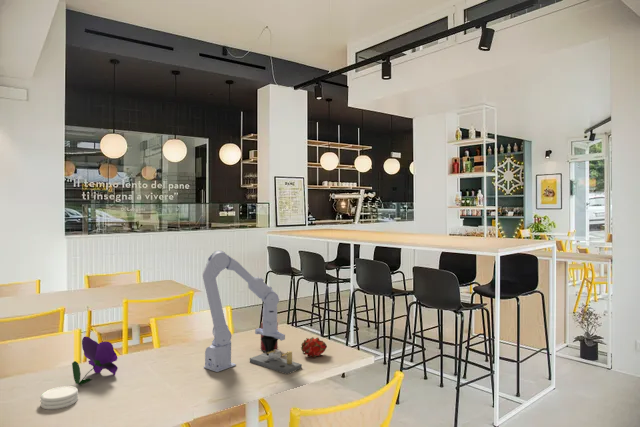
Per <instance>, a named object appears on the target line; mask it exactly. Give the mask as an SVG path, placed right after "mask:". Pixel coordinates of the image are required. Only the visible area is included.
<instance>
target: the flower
mask: <svg viewBox="0 0 640 427" xmlns="http://www.w3.org/2000/svg"><path fill="white" fill-rule="evenodd" d="M81 348H82V350H83V355H84V357H86V358H87V359H88V365H90V366H91V367H92V369H90V370H89V371H87V372H86V374H85V375H84V377H82V379H81V376H82V375H81V374H82V373H81V367H80V365H79V363H78V362H77V361H73V362H71V366H72V375H73V380H74V382H75V384H77V385H79V386H82V385H84V384H86V383H87V384H88V383H89V382H90V381H91V380H93V379H92V378H86V377H87V375H88V374H89V373H91V371H93V372H94V373H95V374H98V373H101V372H102V371H103V370H108V372H110V373H111V374H113V375H114V376H115V375H116V373H117V371H118V369H119V367H118V366H117V365H116V364H115V363H114V362H117V361H118V355H117V353H116V352H115V350H114V346H113V344H112V342H110V341H101V342H99V343H98V342H97V341H96V340H93V339H92V338H90V337H89V336H84V337H82V339H81Z"/></svg>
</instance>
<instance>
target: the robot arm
mask: <svg viewBox="0 0 640 427" xmlns="http://www.w3.org/2000/svg"><path fill="white" fill-rule="evenodd" d="M206 262H207V263H206V264H205V267H204V270H203V272H202V280H203V284H204V288H205V293H206V297H207V298H206V299H207V302H208V305H209V310H210V315H211V318H212V325H213V326H212V335H213V339H212V341H211V344H210V345H209V346H208V347H206V348H205V353H204V366H203V368H205V369H207V370H210V371H213V372H215V373H219V372H221V371H224V370H227V369H230V368H232V367H235V366H236V365H237V364H236V363H234V362H232V340H231V339H232V333H231V331H230V328H229V326H228V324H227V323H226V322H227V321H226V318H225V314H224V309H223V305H222V301H221V297H220V291H219V289H218V288H219V287H218V283H217V277H218V276H219V274H220V273H221V272H223V270H225V269H226V270H228V271H234V272H235V273H236V274H237V275H238V276H240V277H241V279H243V280H244V281H245V282H247V288H248V289H249V290H250V291H251V292H252V293H253V294H255V296H256V297H258V298H259V299H261V301H262V302H263V304H262V307H263V308H262V321H263V329H261V327H258V328H255V329H254V330H255V332H254V333H255V335H260V336H261V335H264V336H263V337H262V338H261V337H260V341H261V340H262V342H263V344H264V346H265V350H266V352H265V354H267V352H269V351H271V350H274V347H275V344H276V342H277V340H278V341H285V340H286V334H285V333H282V332H280V331H279V329H278V330H277V322H278V304H279V302H280V298H279V295H278V294H277V292H276V291H274V290H273V288H272V287H271V286H269V285H268V284H267V283H266V282H264V281H265V280H264V278H262V277H259V276H253V275H252V274H251V273H250V272H249V271H248V270H247V269H246V268H245V267H243V265H242V264H241V263H240V262H238V261H237V260H236V259H235V258H233V257H231V256H230V255H229V254H227V253H226V252H224V251H223V250H219V249H218V250H215V251H213V253H211V255H210V256H209V257H208V259H207V261H206ZM267 355H268V356H269V354H267Z"/></svg>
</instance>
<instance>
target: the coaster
mask: <svg viewBox="0 0 640 427" xmlns="http://www.w3.org/2000/svg"><path fill="white" fill-rule="evenodd" d="M78 392H79V390H78V387H76V386H71V385H65V386H64V385H63V386H62V385H61V386H57V387H53V388H50V389H48V390H45V391H44V392H43V393H42V394H41V395H40V401H39V402H40V407H41V409H44V410H52V411H53V410H59V409H64V408H67V407H68V408H69V407H70V406H72V405H73V404H74V405H75V403H76V402H78V399H79V393H78Z"/></svg>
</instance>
